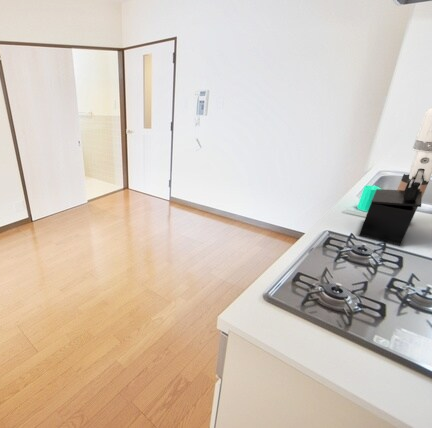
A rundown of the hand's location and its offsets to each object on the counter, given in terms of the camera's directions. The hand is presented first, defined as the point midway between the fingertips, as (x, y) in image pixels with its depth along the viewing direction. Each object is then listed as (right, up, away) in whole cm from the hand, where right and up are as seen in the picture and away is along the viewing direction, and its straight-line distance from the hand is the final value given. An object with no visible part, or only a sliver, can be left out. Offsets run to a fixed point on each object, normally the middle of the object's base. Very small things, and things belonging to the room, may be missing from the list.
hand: (409, 195), depth 101 cm
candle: (+10, -4, +29) cm, 31 cm away
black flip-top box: (-2, -14, +9) cm, 17 cm away
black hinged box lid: (-2, -1, +3) cm, 3 cm away
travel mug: (+13, -10, +17) cm, 23 cm away
